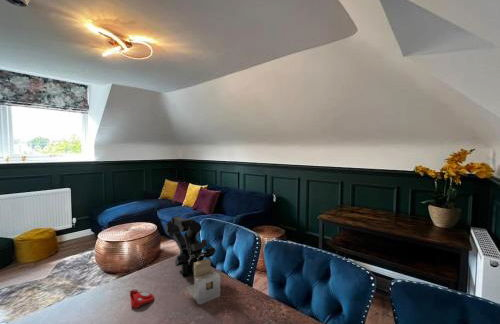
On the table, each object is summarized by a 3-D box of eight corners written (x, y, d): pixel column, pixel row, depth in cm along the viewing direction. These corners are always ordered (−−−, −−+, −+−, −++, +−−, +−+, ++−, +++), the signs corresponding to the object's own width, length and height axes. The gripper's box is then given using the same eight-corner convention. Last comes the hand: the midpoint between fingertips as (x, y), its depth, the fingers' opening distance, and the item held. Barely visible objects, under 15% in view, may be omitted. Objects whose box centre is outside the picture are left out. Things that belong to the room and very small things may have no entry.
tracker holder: (158, 292, 104) (148, 301, 94) (155, 302, 103) (144, 312, 93) (132, 285, 105) (120, 293, 95) (129, 295, 104) (116, 304, 94)
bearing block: (186, 287, 109) (186, 267, 108) (206, 280, 114) (206, 262, 114) (198, 305, 97) (198, 282, 96) (220, 296, 102) (220, 275, 102)
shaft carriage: (194, 290, 105) (193, 262, 104) (208, 285, 109) (208, 258, 108) (201, 300, 98) (201, 270, 97) (216, 294, 102) (216, 265, 101)
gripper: (176, 238, 105) (185, 273, 96) (214, 230, 115) (224, 261, 107) (171, 249, 112) (179, 282, 103) (207, 241, 122) (217, 270, 114)
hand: (201, 273), depth 107 cm, fingers closed, pressing on shaft carriage
